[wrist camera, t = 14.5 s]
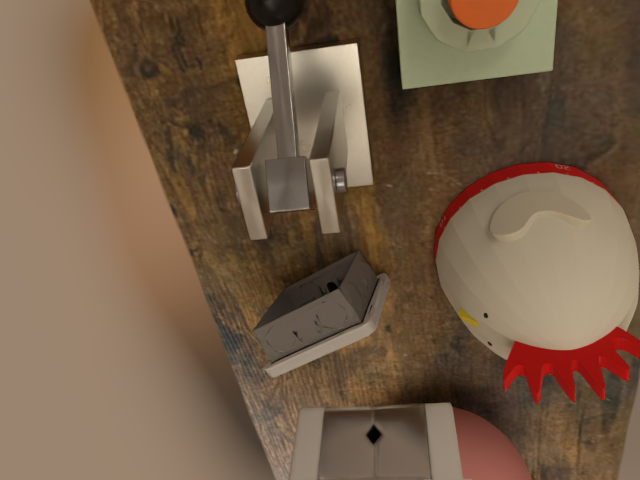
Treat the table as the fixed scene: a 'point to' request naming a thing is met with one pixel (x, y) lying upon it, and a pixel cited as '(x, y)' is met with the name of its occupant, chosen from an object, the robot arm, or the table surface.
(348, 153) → the switch bracket
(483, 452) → the balloon
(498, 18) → the button
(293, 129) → the switch lever
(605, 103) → the table surface
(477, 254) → the kitchen timer
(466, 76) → the control block
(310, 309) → the electrical switch
